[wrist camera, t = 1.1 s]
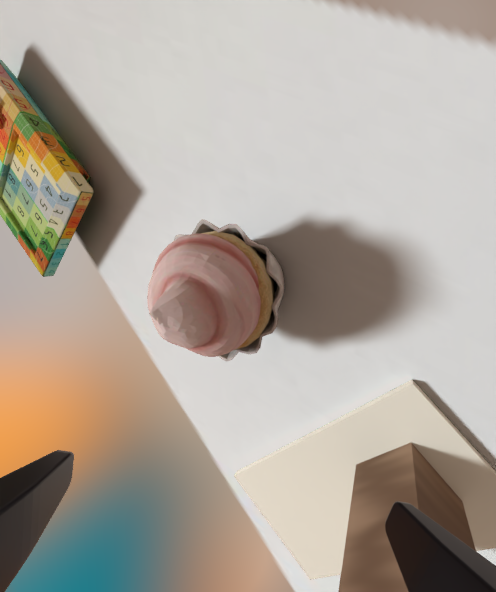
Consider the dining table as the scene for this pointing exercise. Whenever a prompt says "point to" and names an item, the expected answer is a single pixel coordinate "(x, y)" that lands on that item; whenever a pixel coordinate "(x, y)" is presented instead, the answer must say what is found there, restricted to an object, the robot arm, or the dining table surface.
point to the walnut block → (375, 509)
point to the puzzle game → (37, 178)
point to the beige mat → (341, 470)
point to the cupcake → (215, 292)
